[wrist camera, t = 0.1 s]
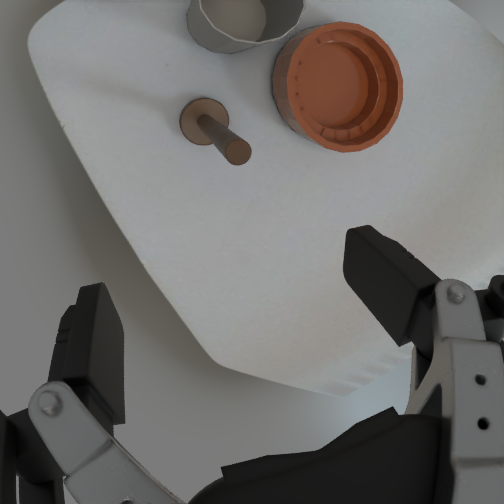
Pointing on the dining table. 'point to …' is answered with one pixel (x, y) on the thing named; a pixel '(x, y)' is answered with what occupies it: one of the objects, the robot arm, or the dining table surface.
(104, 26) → the dining table surface
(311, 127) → the bowl
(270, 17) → the cup
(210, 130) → the upright rod on disc
